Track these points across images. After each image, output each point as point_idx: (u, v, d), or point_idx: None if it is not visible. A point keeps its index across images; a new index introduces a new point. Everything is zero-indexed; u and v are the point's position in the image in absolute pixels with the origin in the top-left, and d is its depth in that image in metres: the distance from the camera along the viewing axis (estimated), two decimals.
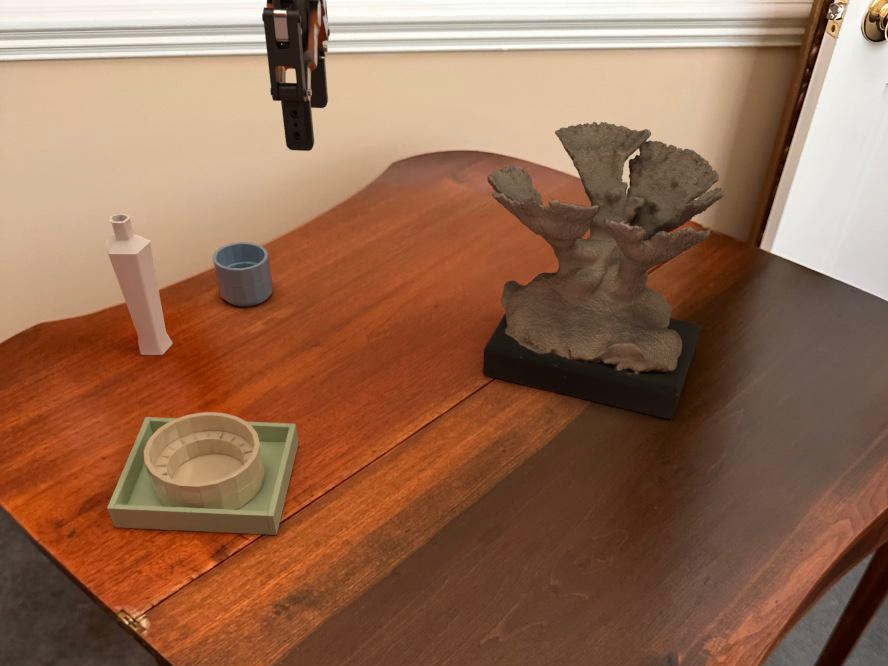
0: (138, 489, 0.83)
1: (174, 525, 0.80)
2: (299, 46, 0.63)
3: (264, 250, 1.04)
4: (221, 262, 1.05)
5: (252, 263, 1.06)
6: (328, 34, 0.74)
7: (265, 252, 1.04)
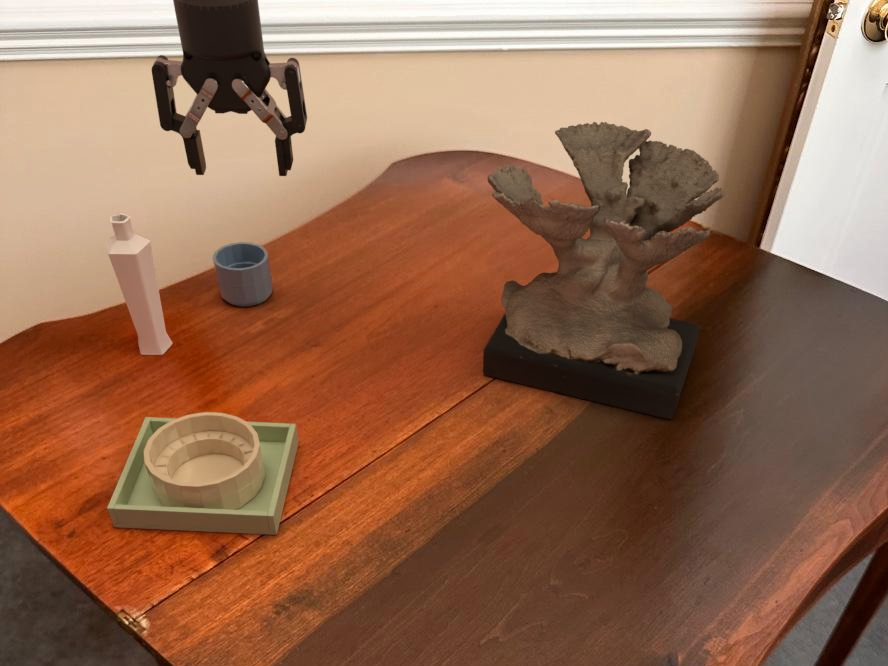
0: (138, 489, 0.83)
1: (174, 525, 0.80)
2: (156, 89, 0.83)
3: (264, 250, 1.04)
4: (221, 262, 1.05)
5: (252, 263, 1.06)
6: (297, 128, 0.86)
7: (265, 252, 1.04)
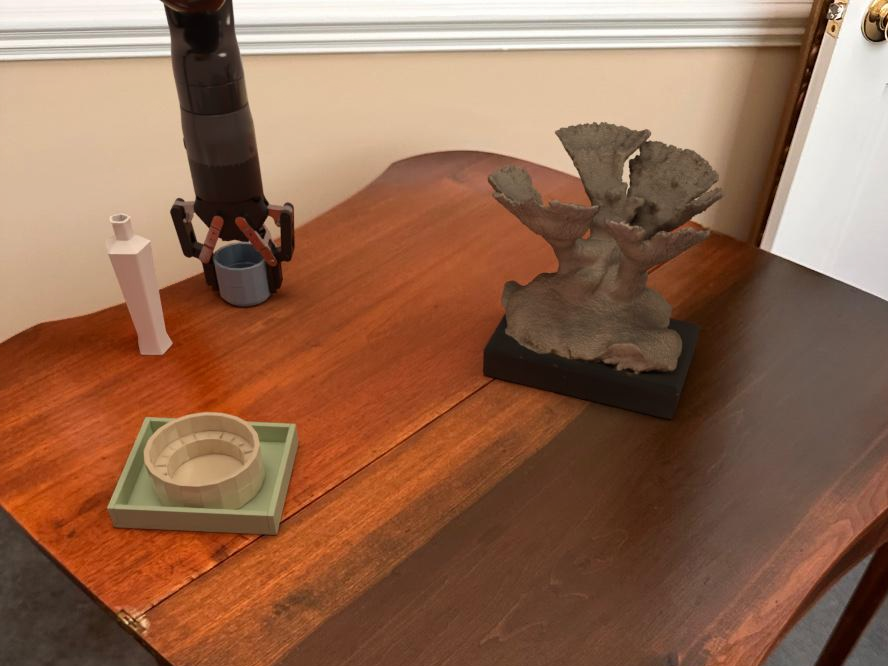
0: (138, 489, 0.83)
1: (174, 525, 0.80)
2: (176, 226, 0.99)
3: None
4: (221, 262, 1.05)
5: (252, 263, 1.06)
6: (284, 257, 1.02)
7: None
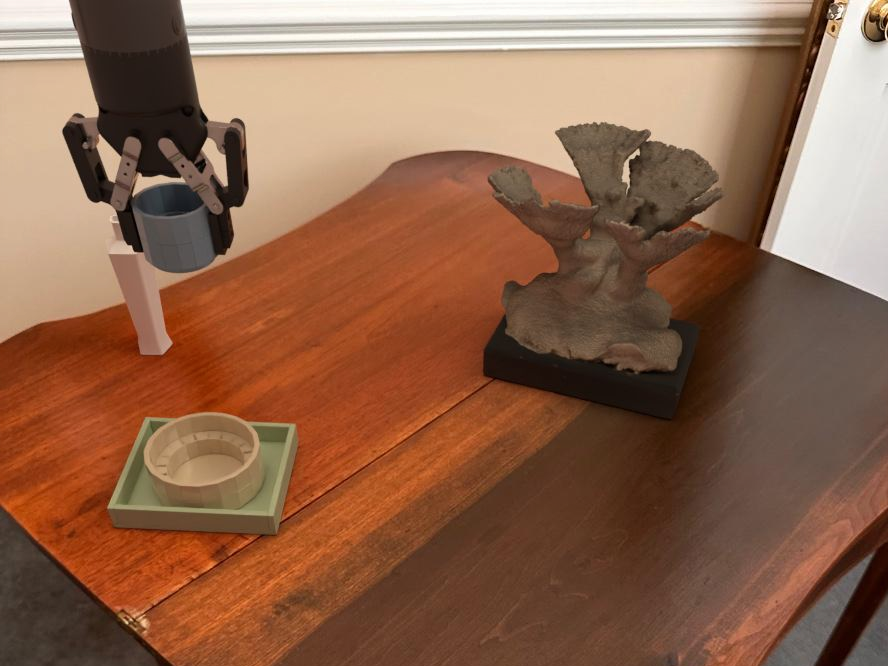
0: (138, 489, 0.83)
1: (174, 525, 0.80)
2: (73, 155, 0.68)
3: None
4: (145, 210, 0.73)
5: None
6: (234, 201, 0.70)
7: None
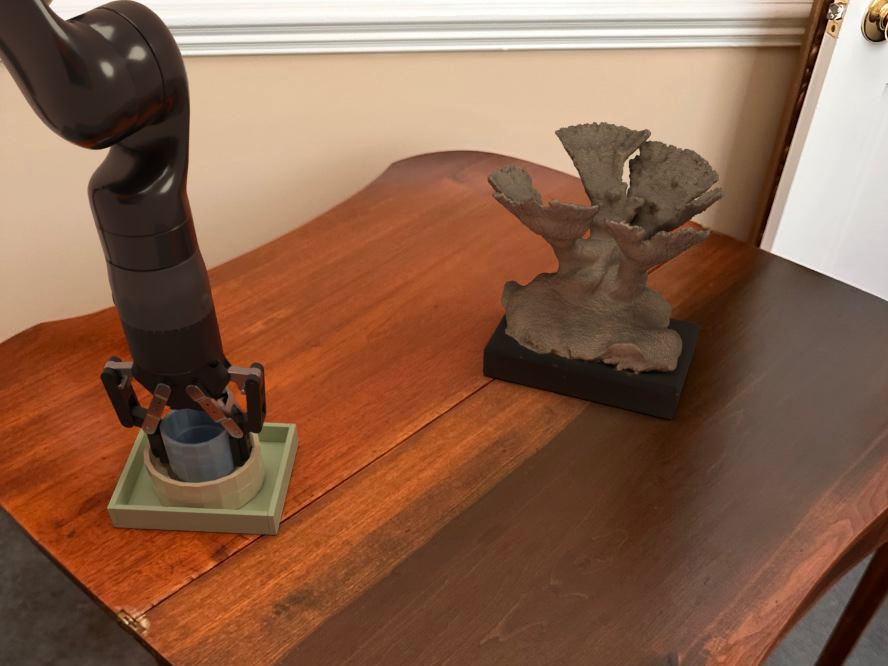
0: (138, 489, 0.83)
1: (174, 525, 0.80)
2: (109, 393, 0.76)
3: None
4: (172, 428, 0.81)
5: (213, 426, 0.83)
6: (252, 429, 0.78)
7: None
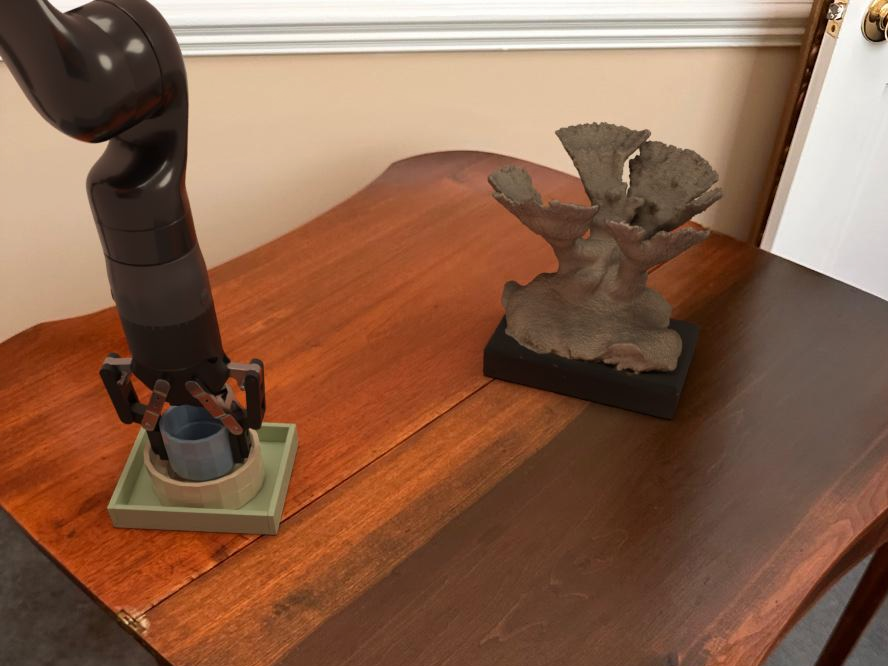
0: (138, 489, 0.83)
1: (174, 525, 0.80)
2: (108, 390, 0.75)
3: None
4: (171, 425, 0.81)
5: (212, 423, 0.82)
6: (252, 425, 0.78)
7: None
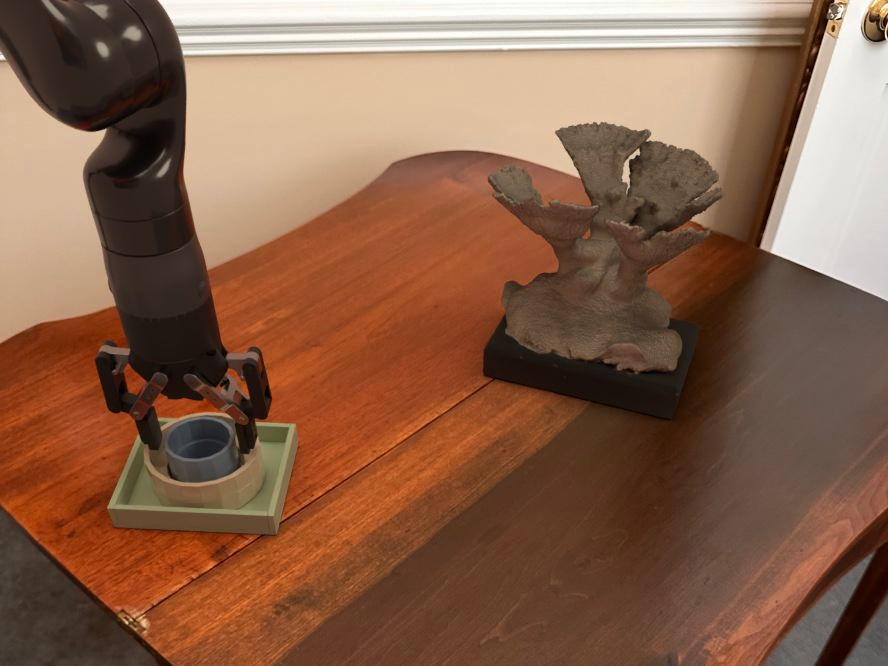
0: (138, 489, 0.83)
1: (174, 525, 0.80)
2: (101, 377, 0.74)
3: (229, 429, 0.82)
4: (175, 443, 0.82)
5: (215, 441, 0.84)
6: (258, 415, 0.77)
7: (231, 432, 0.81)
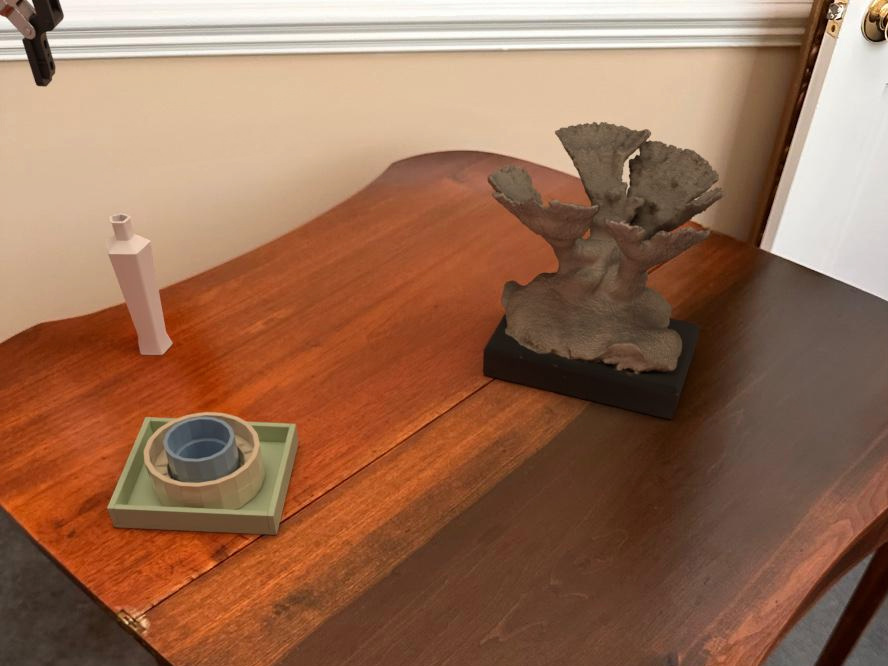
0: (138, 489, 0.83)
1: (174, 525, 0.80)
2: None
3: (229, 429, 0.82)
4: (175, 443, 0.82)
5: (215, 441, 0.84)
6: (44, 24, 0.72)
7: (231, 432, 0.81)
